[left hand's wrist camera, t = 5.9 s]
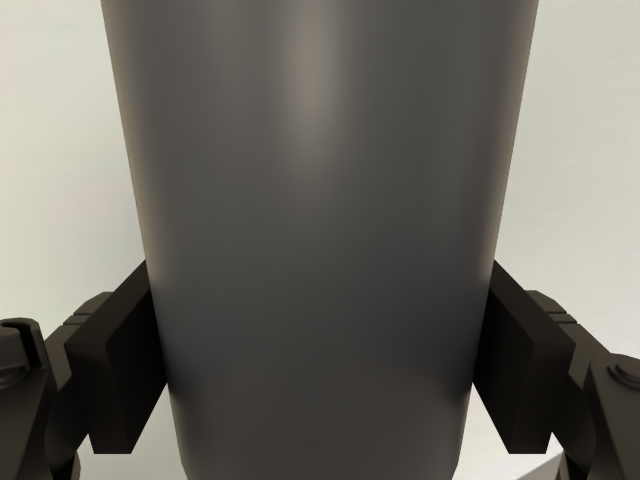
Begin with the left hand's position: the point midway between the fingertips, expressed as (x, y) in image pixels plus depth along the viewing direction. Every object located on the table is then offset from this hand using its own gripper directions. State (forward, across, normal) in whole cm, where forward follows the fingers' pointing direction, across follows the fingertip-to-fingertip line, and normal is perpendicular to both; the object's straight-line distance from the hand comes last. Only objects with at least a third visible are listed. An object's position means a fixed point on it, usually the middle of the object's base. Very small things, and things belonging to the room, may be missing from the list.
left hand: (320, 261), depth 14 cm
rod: (0, 0, -10) cm, 10 cm away
